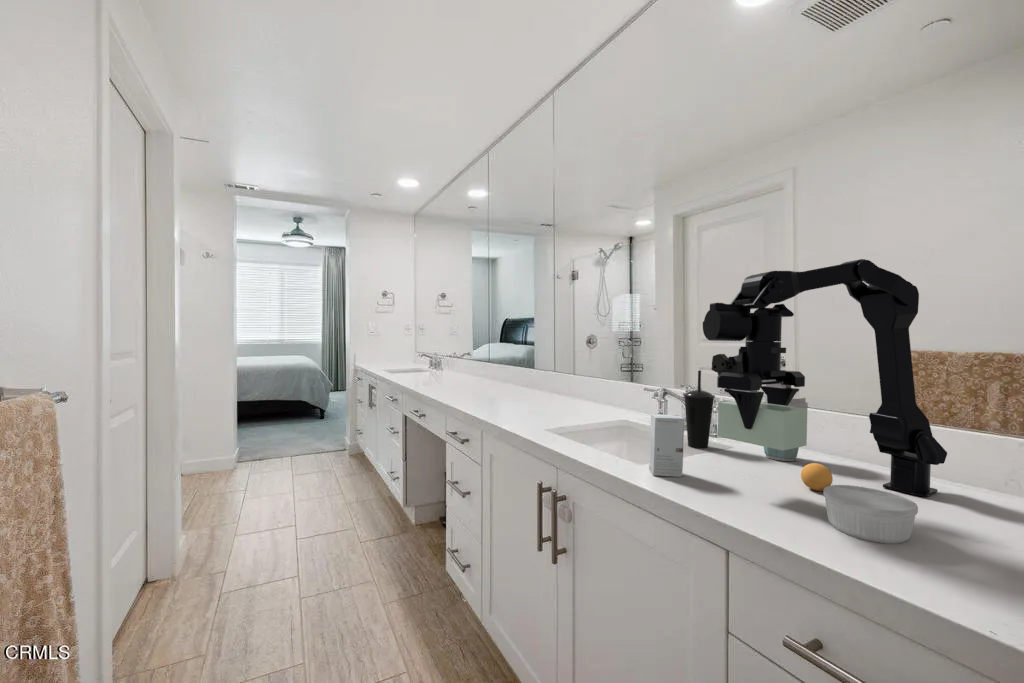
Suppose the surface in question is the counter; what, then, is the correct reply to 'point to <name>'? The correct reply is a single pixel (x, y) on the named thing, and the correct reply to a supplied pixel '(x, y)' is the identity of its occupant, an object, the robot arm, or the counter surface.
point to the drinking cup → (698, 416)
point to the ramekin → (870, 513)
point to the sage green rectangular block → (765, 425)
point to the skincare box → (666, 445)
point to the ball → (816, 476)
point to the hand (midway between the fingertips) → (760, 426)
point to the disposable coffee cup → (790, 453)
